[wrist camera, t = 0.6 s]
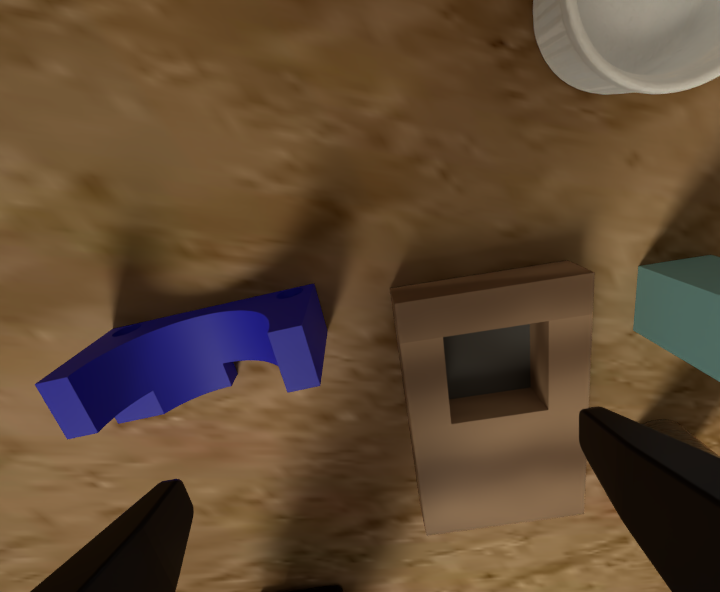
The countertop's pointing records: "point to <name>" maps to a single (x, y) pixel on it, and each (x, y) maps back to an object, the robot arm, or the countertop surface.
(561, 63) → the ramekin
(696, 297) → the square peg
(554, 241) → the countertop surface
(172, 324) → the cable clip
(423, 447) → the socket board
